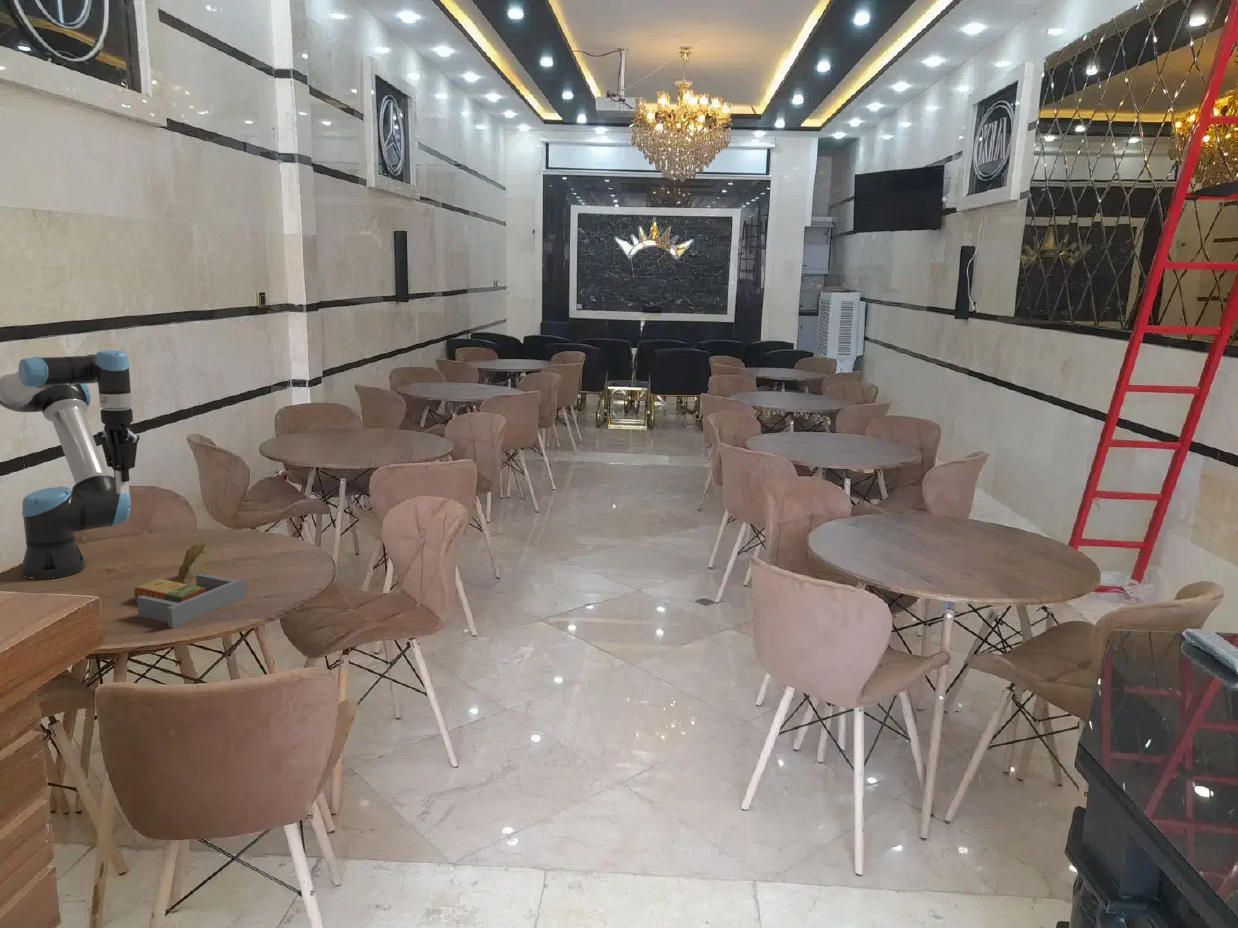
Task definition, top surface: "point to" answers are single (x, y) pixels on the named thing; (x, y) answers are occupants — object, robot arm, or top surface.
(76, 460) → the robot arm
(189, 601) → the u stop
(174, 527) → the top surface
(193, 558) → the rock
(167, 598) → the carton
